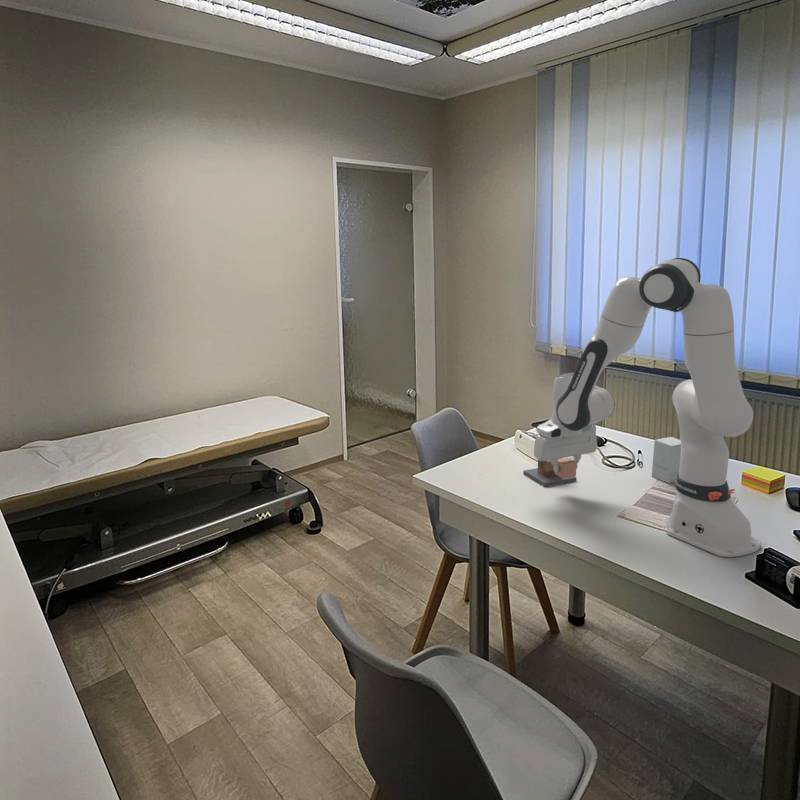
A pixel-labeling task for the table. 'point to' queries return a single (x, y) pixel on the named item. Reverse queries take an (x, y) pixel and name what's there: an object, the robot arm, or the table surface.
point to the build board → (546, 481)
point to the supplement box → (666, 459)
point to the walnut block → (546, 468)
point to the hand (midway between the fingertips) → (565, 469)
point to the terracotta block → (566, 468)
